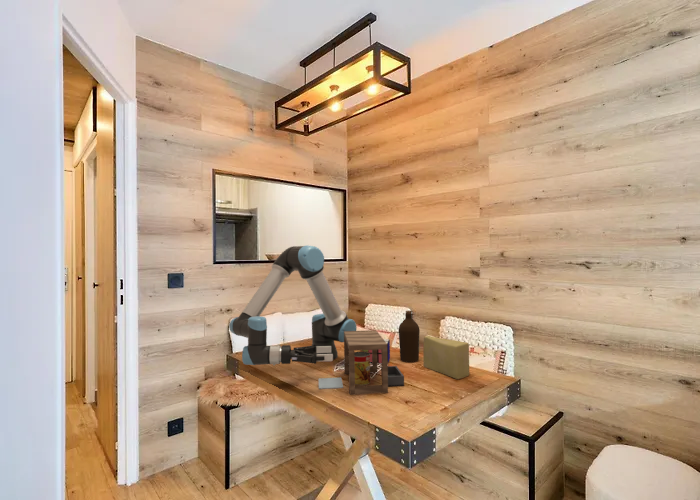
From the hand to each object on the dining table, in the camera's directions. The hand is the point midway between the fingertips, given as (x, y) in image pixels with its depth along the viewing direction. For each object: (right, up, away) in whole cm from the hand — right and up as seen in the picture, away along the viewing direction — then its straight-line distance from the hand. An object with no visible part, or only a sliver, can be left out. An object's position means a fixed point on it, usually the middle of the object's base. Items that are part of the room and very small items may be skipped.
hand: (332, 353), depth 157 cm
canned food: (+12, -13, +1) cm, 18 cm away
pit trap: (+26, -12, +3) cm, 29 cm away
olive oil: (+38, -13, +33) cm, 52 cm away
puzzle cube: (+23, -13, +33) cm, 42 cm away
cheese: (+50, -13, +13) cm, 53 cm away
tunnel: (+14, -13, +2) cm, 19 cm away
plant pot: (+17, -13, +53) cm, 57 cm away
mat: (-1, -13, 0) cm, 13 cm away
